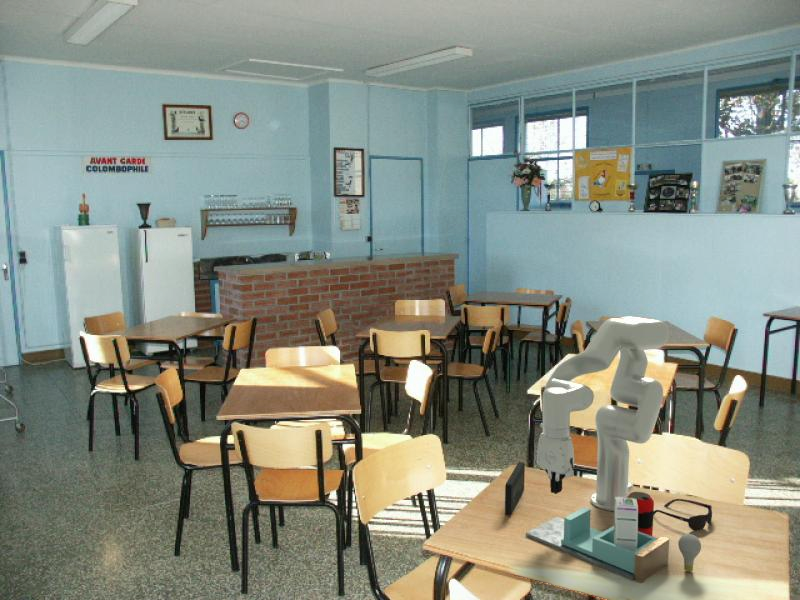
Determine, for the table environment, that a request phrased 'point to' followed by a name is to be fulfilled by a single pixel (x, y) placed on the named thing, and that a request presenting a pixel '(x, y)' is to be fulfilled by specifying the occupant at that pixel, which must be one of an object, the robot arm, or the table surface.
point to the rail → (645, 560)
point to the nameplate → (514, 488)
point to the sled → (600, 541)
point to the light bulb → (689, 550)
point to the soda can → (644, 512)
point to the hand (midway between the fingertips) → (556, 491)
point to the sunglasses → (695, 521)
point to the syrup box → (626, 522)
